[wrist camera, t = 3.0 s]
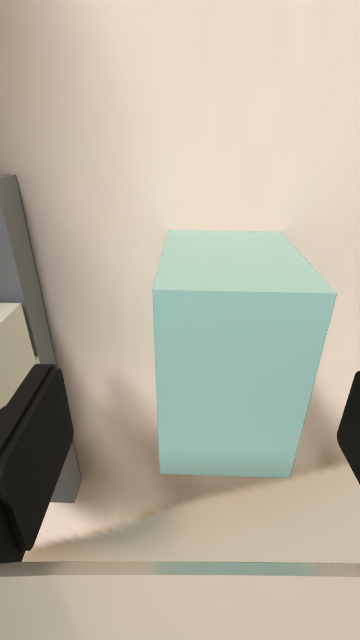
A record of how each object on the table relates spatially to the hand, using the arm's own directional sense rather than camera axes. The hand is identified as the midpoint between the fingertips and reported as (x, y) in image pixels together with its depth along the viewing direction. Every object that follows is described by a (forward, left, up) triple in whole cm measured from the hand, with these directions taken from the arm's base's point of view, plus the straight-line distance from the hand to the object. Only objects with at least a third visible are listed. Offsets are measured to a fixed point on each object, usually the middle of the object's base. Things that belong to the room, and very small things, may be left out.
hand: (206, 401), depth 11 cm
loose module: (-1, -1, -5) cm, 5 cm away
